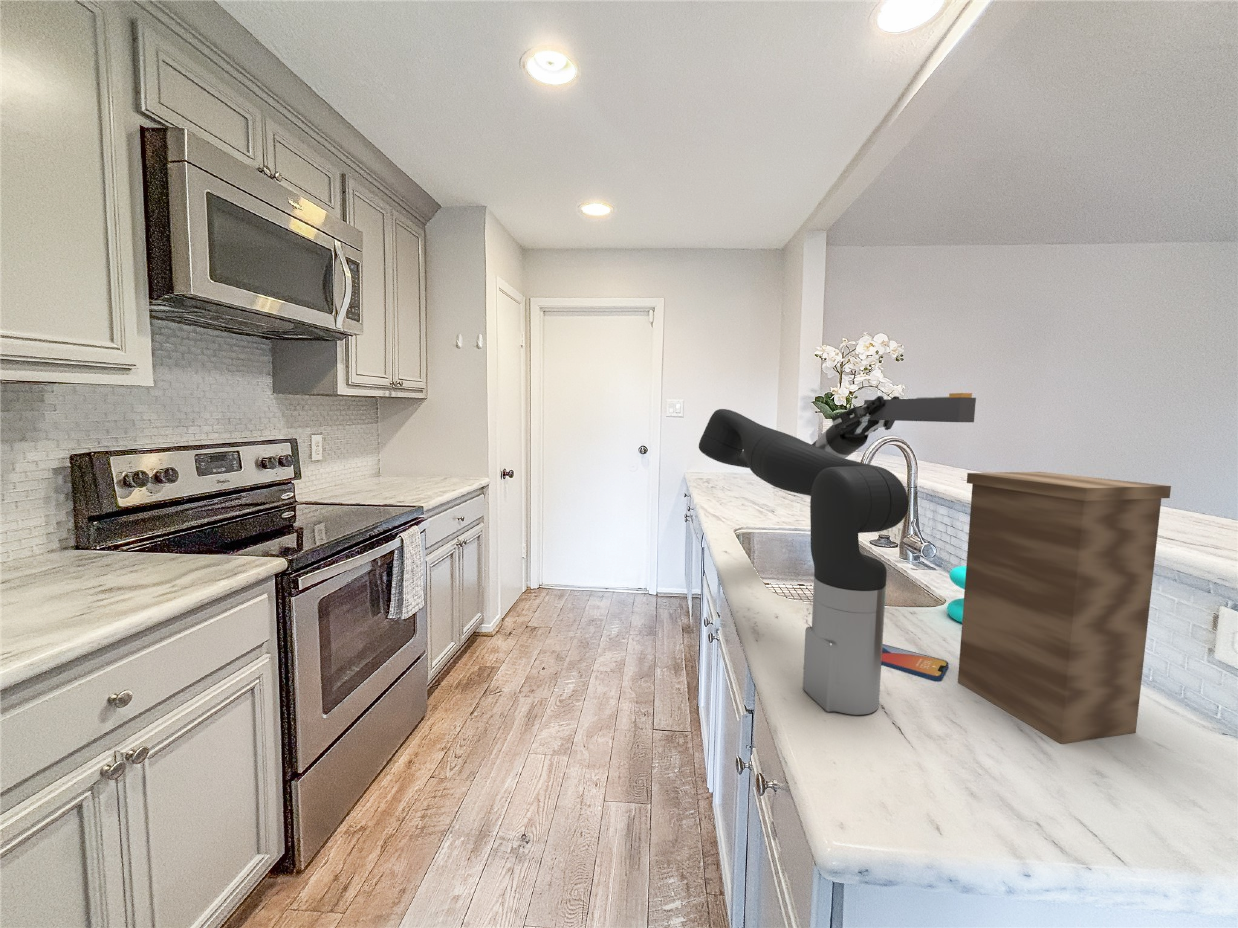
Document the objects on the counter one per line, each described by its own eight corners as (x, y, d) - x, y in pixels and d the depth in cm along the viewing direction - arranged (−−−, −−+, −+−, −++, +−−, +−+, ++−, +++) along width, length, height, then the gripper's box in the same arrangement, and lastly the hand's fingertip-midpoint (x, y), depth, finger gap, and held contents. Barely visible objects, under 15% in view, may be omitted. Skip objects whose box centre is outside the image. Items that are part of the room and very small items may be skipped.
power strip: (958, 422, 82) (960, 392, 82) (863, 419, 105) (864, 396, 104) (973, 422, 83) (976, 393, 83) (875, 419, 105) (877, 396, 105)
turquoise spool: (1011, 583, 94) (946, 572, 100) (1006, 635, 95) (943, 621, 101) (1012, 570, 102) (953, 561, 108) (1008, 619, 102) (949, 607, 109)
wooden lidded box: (1061, 746, 63) (1086, 488, 60) (952, 680, 78) (967, 472, 75) (1143, 734, 65) (1171, 485, 62) (1021, 672, 81) (1039, 471, 78)
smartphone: (853, 641, 93) (853, 635, 93) (949, 667, 83) (950, 661, 83) (838, 655, 88) (838, 649, 88) (940, 684, 78) (940, 678, 77)
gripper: (808, 425, 115) (853, 382, 99) (863, 426, 118) (915, 384, 102) (816, 455, 112) (864, 416, 96) (872, 455, 115) (928, 417, 99)
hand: (890, 400), depth 99 cm, fingers closed on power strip, 3 cm apart
